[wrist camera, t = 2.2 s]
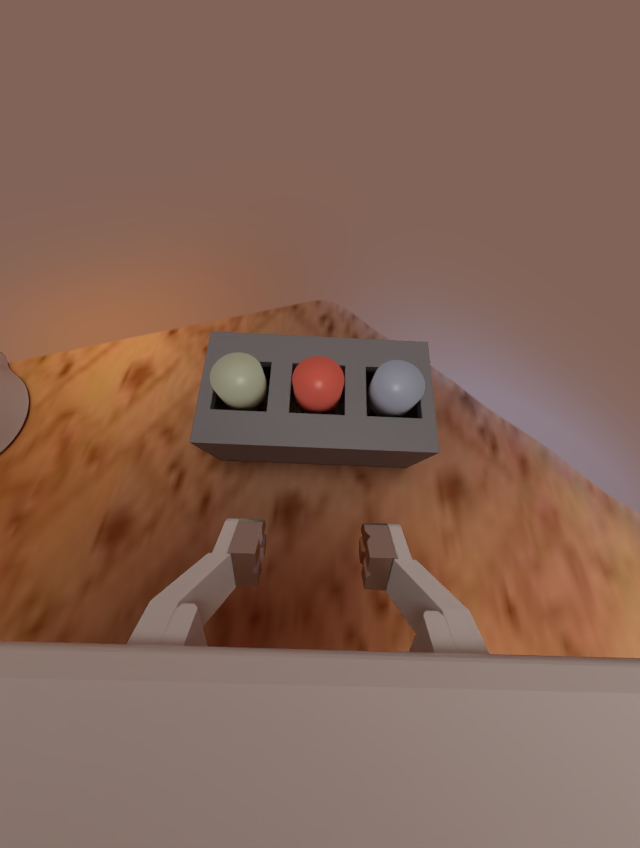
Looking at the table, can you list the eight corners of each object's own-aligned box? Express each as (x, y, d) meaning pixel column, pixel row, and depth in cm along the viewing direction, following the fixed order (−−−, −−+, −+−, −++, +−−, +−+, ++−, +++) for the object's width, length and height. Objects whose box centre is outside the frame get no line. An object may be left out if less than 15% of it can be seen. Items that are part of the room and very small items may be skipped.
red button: (293, 415, 27) (290, 401, 24) (296, 373, 29) (293, 354, 26) (340, 417, 27) (344, 404, 24) (340, 375, 29) (344, 357, 26)
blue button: (366, 418, 27) (374, 405, 24) (365, 376, 29) (372, 358, 26) (413, 420, 28) (427, 408, 24) (410, 378, 29) (423, 361, 26)
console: (220, 460, 33) (189, 442, 25) (234, 373, 37) (210, 331, 28) (406, 467, 34) (439, 452, 25) (401, 380, 37) (427, 342, 29)
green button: (218, 412, 27) (205, 398, 24) (225, 369, 29) (214, 351, 25) (266, 414, 27) (260, 400, 24) (270, 371, 29) (265, 353, 25)
